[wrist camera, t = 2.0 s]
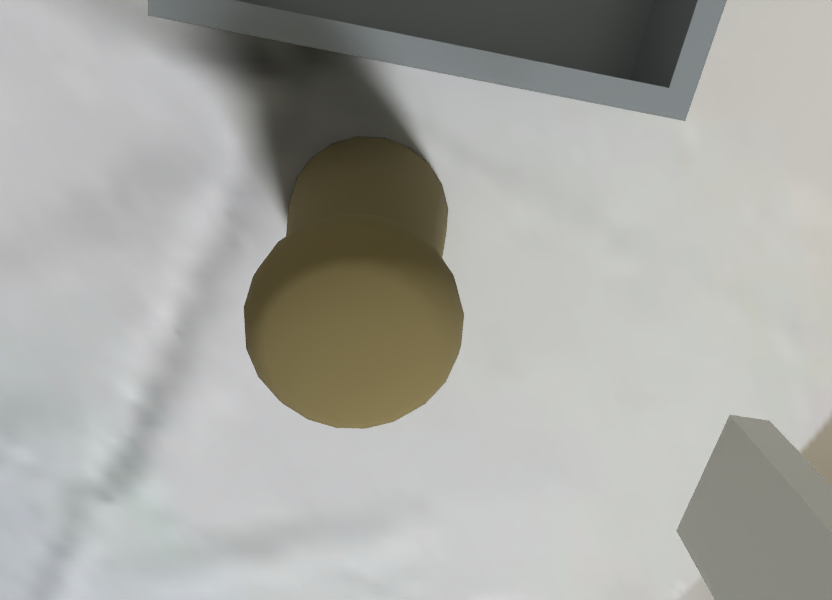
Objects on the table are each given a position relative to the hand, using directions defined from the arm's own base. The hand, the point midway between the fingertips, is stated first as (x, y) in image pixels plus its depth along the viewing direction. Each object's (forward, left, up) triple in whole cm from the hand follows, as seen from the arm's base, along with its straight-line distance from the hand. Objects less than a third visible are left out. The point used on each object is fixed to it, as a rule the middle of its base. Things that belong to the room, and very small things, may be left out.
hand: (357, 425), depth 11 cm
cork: (0, 0, -14) cm, 14 cm away
